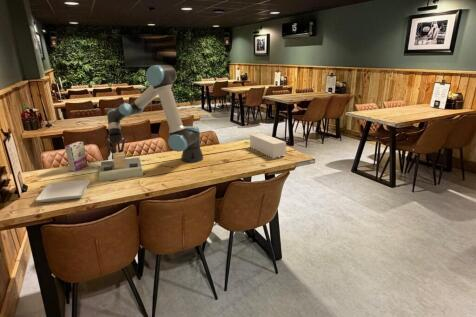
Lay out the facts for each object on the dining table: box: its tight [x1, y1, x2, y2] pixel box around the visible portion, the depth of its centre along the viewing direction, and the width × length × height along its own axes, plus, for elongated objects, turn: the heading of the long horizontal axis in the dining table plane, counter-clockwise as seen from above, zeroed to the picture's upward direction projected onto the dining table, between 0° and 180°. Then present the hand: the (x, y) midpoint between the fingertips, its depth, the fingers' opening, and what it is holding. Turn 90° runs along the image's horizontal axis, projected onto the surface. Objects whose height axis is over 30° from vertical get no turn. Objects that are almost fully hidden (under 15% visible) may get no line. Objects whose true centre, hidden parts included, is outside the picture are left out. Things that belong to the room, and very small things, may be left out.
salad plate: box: [35, 179, 91, 203], centre depth 155 cm, size 21×21×3 cm
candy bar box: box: [64, 141, 88, 172], centre depth 189 cm, size 11×5×16 cm, turn 168°
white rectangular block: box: [249, 132, 287, 159], centre depth 222 cm, size 32×11×11 cm, turn 28°
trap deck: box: [98, 157, 144, 182], centre depth 187 cm, size 30×24×2 cm
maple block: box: [112, 151, 127, 169], centre depth 186 cm, size 7×7×8 cm
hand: (118, 161), depth 190 cm, fingers closed
